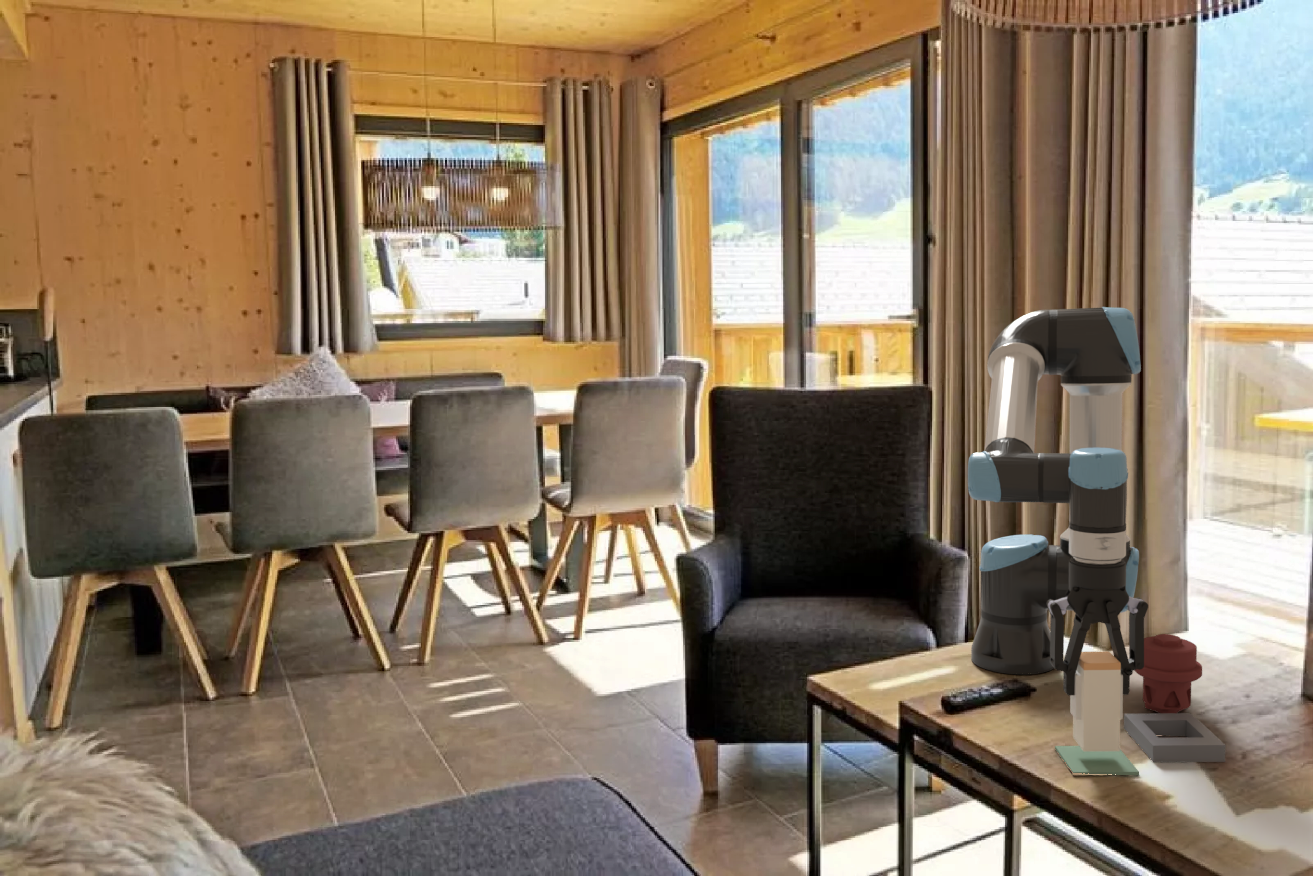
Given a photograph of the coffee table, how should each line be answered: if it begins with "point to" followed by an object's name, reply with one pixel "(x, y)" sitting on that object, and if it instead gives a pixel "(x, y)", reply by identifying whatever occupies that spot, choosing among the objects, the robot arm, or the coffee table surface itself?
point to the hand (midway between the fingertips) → (1096, 715)
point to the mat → (1096, 761)
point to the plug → (1099, 702)
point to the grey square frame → (1190, 749)
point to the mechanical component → (1168, 673)
